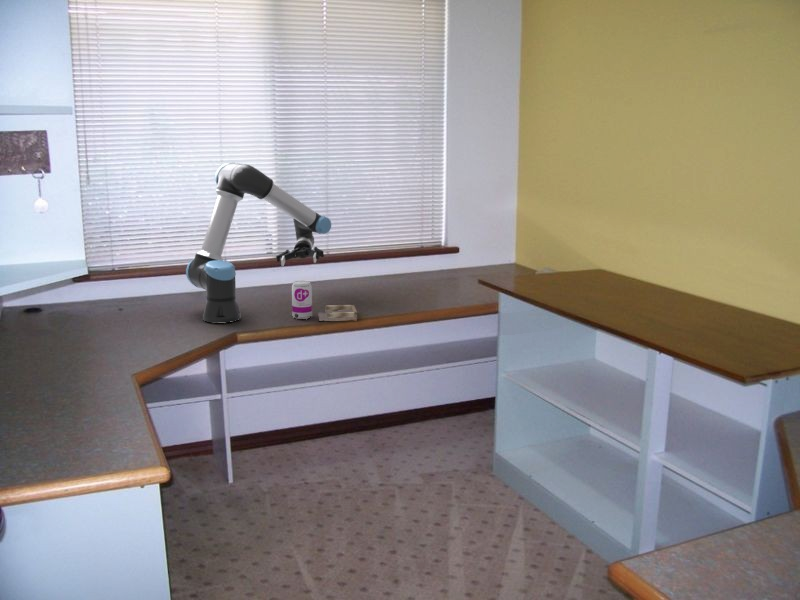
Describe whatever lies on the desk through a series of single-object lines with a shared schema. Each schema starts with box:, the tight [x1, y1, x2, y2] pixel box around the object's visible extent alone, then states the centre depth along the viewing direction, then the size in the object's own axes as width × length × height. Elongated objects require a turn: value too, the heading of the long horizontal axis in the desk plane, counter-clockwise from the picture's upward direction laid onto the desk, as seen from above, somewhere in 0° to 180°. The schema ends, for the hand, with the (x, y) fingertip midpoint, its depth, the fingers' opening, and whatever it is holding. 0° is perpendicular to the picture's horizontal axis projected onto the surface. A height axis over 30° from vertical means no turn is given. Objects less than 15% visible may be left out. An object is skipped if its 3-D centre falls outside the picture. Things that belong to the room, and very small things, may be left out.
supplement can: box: [291, 280, 313, 318], centre depth 311 cm, size 8×8×15 cm
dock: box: [324, 304, 358, 318], centre depth 315 cm, size 16×15×3 cm
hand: (298, 261), depth 315 cm, fingers open, 13 cm apart
